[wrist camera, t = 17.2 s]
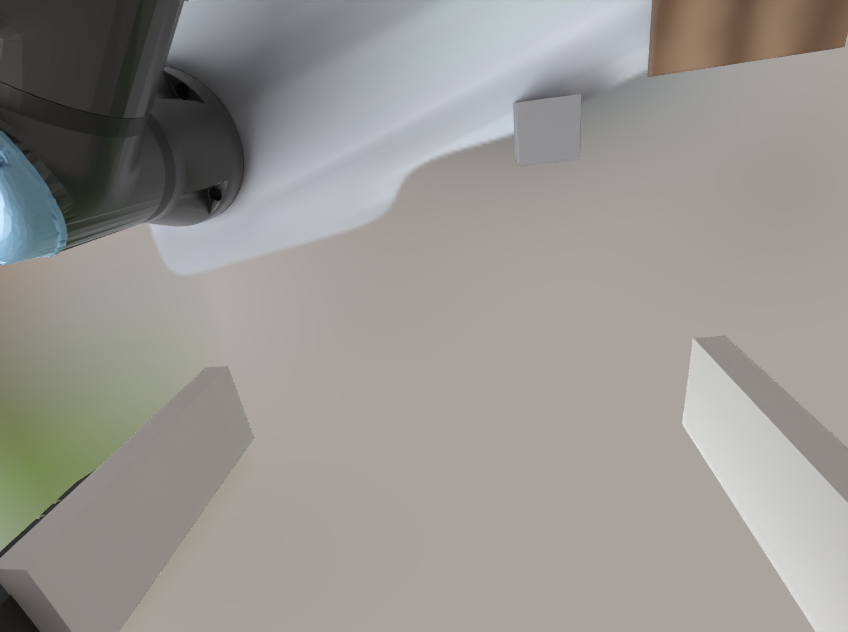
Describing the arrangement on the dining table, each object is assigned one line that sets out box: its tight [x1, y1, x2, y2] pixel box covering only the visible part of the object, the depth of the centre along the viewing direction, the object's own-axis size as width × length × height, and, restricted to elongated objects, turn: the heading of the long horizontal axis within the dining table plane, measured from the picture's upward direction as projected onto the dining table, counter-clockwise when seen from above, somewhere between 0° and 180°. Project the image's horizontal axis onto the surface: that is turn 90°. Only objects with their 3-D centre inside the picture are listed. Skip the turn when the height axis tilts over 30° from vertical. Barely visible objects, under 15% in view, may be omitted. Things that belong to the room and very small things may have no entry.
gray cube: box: [513, 94, 581, 166], centre depth 39 cm, size 5×5×5 cm
